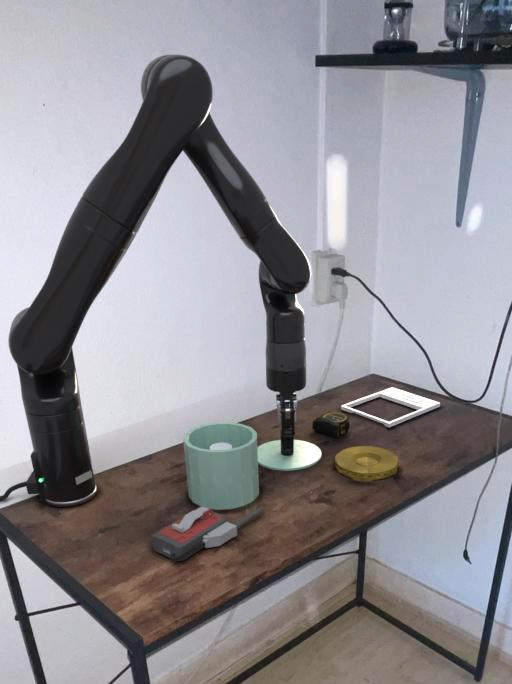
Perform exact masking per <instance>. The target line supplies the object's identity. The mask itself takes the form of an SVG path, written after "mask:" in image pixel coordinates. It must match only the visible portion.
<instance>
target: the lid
mask: <svg viewBox="0 0 512 684" xmlns="http://www.w3.org/2000/svg"><path fill="white" fill-rule="evenodd" d="M284 429H291V428H284ZM279 433H280V435H279V437H280V438H279V439H275V440H271V441H267V442H265V443H262V444H260V445H259V446H257V449H258V466H261V467H263V468H266V469H269V470H273V471H280V472H281V471H282V472H284V471H285V472H287V471H288V472H289V471H291V472H292V471H300V470H305V469H308V468H311V467H313V466H314V465H316V464H317V463H319V461H320V460H321V459H322V451H321V449H320V447H319V446H317V445H316V444H314V443H311V442H309V441H305V440H300V439H295V436H293V439H294V451H293V453H283V452H282V436H281V429H280V430H279Z"/></svg>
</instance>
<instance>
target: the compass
mask: <svg viewBox="0 0 512 684" xmlns="http://www.w3.org/2000/svg"><path fill="white" fill-rule="evenodd" d="M334 458H335V459H334V468H335V470H336V471H337V472H338V473H340V474H341V475H342V476H344V477H347V478H351V479H352V480H354V481H359V482H373V481H377V480H384V479H387V478H389V477H392V476H394V475H396V474H397V472H398V469H399V458H398V456H397V455H396V454H395V453H394V452H392V451H391V450H388V449H386V448H382V447H378V446H371V445H358V446H351V447H347V448H345V449H342V450H341V451H338V452H337V454H336V455H335V456H334Z"/></svg>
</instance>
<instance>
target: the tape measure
mask: <svg viewBox="0 0 512 684" xmlns="http://www.w3.org/2000/svg"><path fill="white" fill-rule="evenodd" d="M350 425H351V424H350V421H349V417H348V416H347V415H346V414H345V413H343V412H337V411H329V412H325V413H322V414H320V415H319V416H318V417H316V418H314V420H313V421H312V430H313V431H315V432H317V433H319V434H323V435H326V436H328V437H332V438H336V439H338V438H340V437H341V436H343V435H345V434H347V433H348V431H349V429H350Z"/></svg>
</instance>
